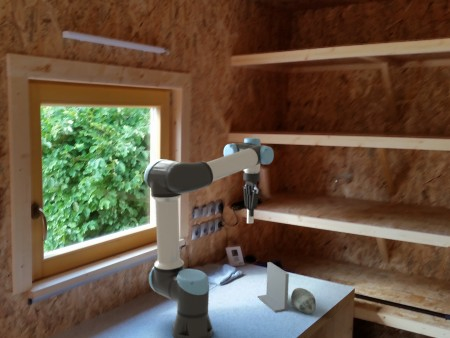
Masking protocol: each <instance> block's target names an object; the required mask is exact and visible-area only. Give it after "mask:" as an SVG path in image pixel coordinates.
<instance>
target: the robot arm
mask: <svg viewBox="0 0 450 338" xmlns="http://www.w3.org/2000/svg"><path fill="white" fill-rule="evenodd" d="M243 140H244V141H243V142H239V143H234V142H232V143H228V144H226V145H225V146H224V148H223V156H221V157H218V158H216V159H213V160H210V161H207V162H206V161H205V160H201V161H198V162H184V161H175V160H171V159H167V158H164V159H163V158H162V159H160V158H159V159H155V160H153V161H151V162H150V163H149V164H148V166H147V167H146V169H145V172H144V175H143V176H144V178H143V179H144V182H145V184H146V185H147V187H149V188H150V196H151V198H153V199H154V200H155V202H154V203H155V220H156V221H155V224H156V225H155V226H156V227H155V228H156V249H157V251H156V253H157V260H155V262H154V263H153V266H152V268H151V271H150V272H149V274H148V283H149V286H150V288H151V289H152V290H153V291H154V292H156V294H158V295H160V296H162V297H165V298H167V299H169V300H172V301H173V302H175V303H177V304H176V316H175V318H174V319H175V320H174V322H173V326H172V327H171V328H172V332H171V333H172V336H173V338H211V337H212V336H213V325H212V320H211V318H210V315H209V301H210V300H209V298H210V297H209V296H210V295H209V294H210V284H209V277H208V275H207V274H206V273H205V272H204V271H202V270H199V269H194V268H185V261H184V260H183V259H181V255H180V254H181V252H180V248H181V247H180V223H179V222H180V221H179V219H180V218H179V199H180V198H181V196H182V194H187V193H192V192H193V193H194V192H196V191H199V190H202V189H204V188H207V187H210V186H211V185H212V184H213V182H215V181H218V180H220V179H222V178H223V179H224V178H226V177H228V176H232V175H233V174H237V173H239V172H241V171H243V174H242V176H243V177H242V180H243V181H244V182H245V185H242V189H243V198H244V199H243V200H244V207H246V224H254V219H255V217H254V216H255V210H256V209H257V208H258V203H259V202H258V200H259V197H260V196H259V195H260V193H261V192H260V191H261V189H259V188H258V183H257V182H259V181H260V180H261V177H260V176H261V175H260V174H261V173H260V172H261V165H270V164H271V163H272V162H273V160H274V157H275V155H274V149H273V148H272V147H271V146H267V145H264V144H263V145H262V144H261V139H260V138H258V137H245V138H244V139H243Z"/></svg>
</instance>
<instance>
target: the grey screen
mask: <svg viewBox="0 0 450 338" xmlns="http://www.w3.org/2000/svg"><path fill="white" fill-rule="evenodd" d="M266 268H267V269H266V271H267V272H266V294H262V295H257V299H258V298H259V299H258V300H260V302H262V303H263V304H264V305H266V306H267V307H268V308H269V309H271V311H272V312H274V313H279V311H280V312H285V311H288V306H289V303H288V302H289V281H290V280H289V277H290V274H289V273H288V272H287V271H285V270H283V269H282V268H281V267H279V266H277V265H276V264H274V263H273V262H271V261H269V262H267V267H266ZM284 310H285V311H284Z"/></svg>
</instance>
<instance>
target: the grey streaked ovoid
mask: <svg viewBox="0 0 450 338" xmlns="http://www.w3.org/2000/svg"><path fill="white" fill-rule="evenodd" d="M290 301H291V305H292V306H293V307H294V308H295V309H297V310H298V311H300V312H301V313H303V314H308V315H311V314H313V313H314V312H315V310H316V307H317V306H316V305H317V301H316V297H315V295H314V294H313V293H312V292H311V291H309V290H308V289H305V288H303V287H297V288H295V289H293V290H292V293H291V295H290Z"/></svg>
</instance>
